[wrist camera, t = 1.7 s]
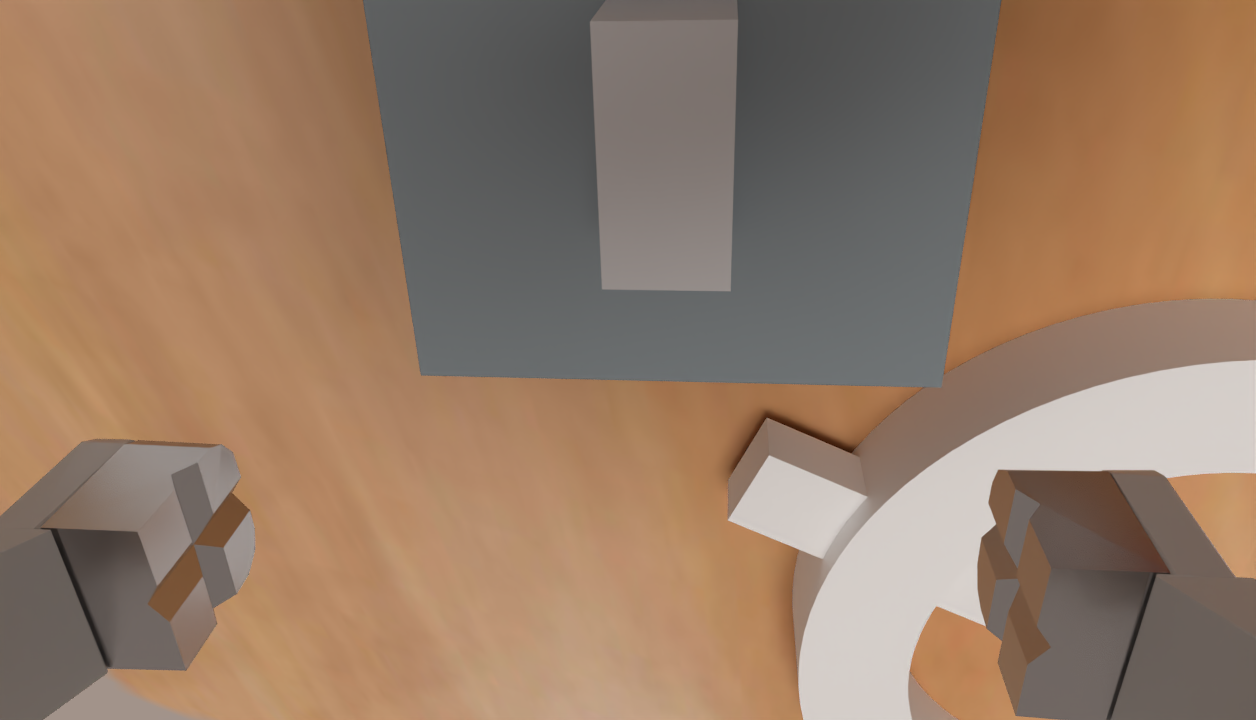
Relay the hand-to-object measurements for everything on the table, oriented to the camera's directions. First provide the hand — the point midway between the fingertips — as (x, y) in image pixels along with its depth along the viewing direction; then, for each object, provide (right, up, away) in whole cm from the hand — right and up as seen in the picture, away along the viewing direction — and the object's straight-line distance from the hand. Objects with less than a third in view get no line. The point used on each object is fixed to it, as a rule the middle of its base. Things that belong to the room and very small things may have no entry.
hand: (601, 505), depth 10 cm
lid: (+2, +8, +15) cm, 17 cm away
